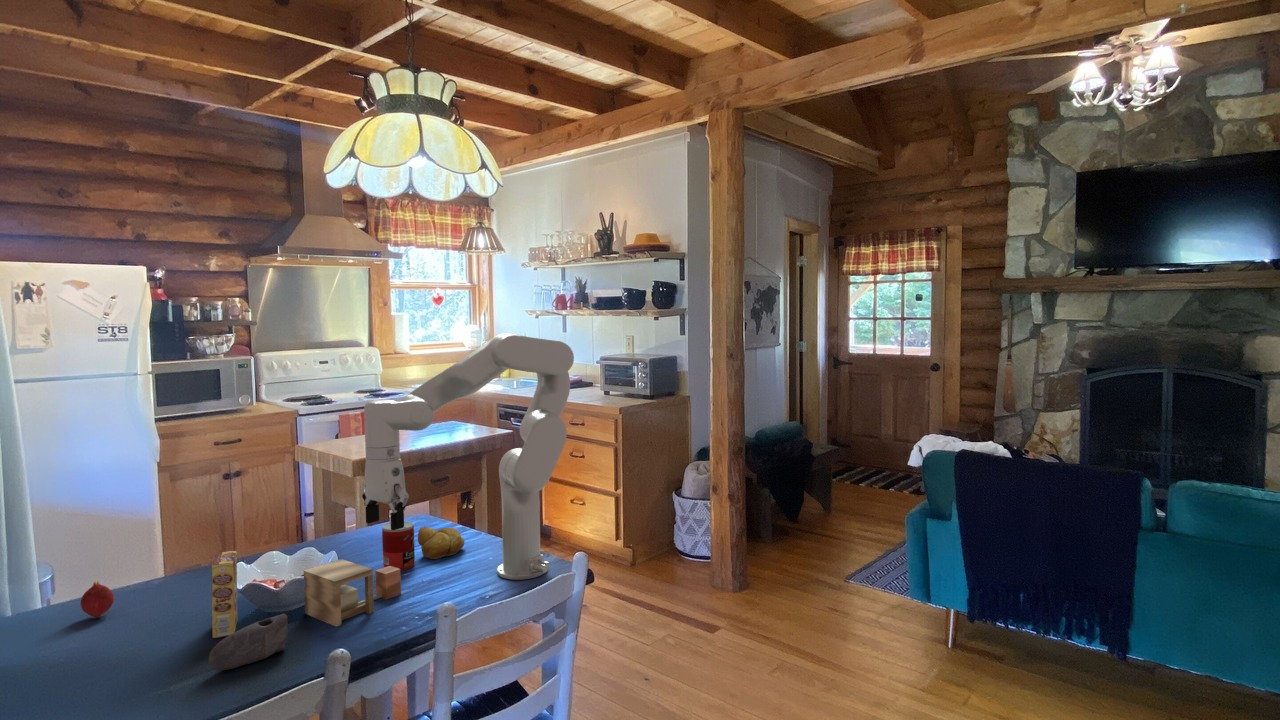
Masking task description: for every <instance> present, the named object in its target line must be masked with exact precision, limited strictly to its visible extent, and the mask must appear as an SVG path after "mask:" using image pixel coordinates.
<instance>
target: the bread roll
mask: <svg viewBox="0 0 1280 720" xmlns="http://www.w3.org/2000/svg"><path fill="white" fill-rule="evenodd" d="M417 543H418V544H419V546H420V548H421V554H422V555H423V556H424V557H425V558H426V559H430V560H431V559H432V560H438V559H440V558H442V557H449V556H454V555H455V554H457V553H458V552H460V551H461V550H462V548H463V547H464V546H465V539H464V537H463V536H462V534H461V533H460V532H459V531H458V530H457V529H456V528H453V527H443V528H439V529H438V530H437V529H435V528H430V527H427V526H424V527H420V528H419V530H418V532H417Z"/></svg>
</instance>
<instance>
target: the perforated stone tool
mask: <svg viewBox="0 0 1280 720" xmlns="http://www.w3.org/2000/svg"><path fill="white" fill-rule="evenodd" d="M288 623H289V616H288V615H287V614H286V613H281V614H277V615H275V616H271V617H268V618H265V619H263V620H258V621H256V622H254V623H251V624H250V625H247V626H245V627H242V628H241V629H238V630H237V631H236V630H235V632H234V633H233V634H231V635H229V636H225V637H223V639H221V640H220V641H219V642H218V643H216V644H215V646H213V648H212V649H211V651H210V652H209V655H208V660H207V661H208V665H209V666H210V667H211V668H212V669H213V670H217V671H225V670H232V669H235V668H236V669H237V668H239V667H242V666H244V665H245V666H247V665H249V664H253V663H255V662H259V661H261V660H265V659H267V658H269V657H270V656H272V655H274V654H275V653H279V652H281V651H283V650H286V645H287V639H288V627H289V625H288Z"/></svg>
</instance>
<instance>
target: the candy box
mask: <svg viewBox="0 0 1280 720" xmlns="http://www.w3.org/2000/svg"><path fill="white" fill-rule="evenodd" d="M237 555H238V553H237V550H229V551H223V552H216V553H215V554H214V558H213V561H212V564H211V611H212V613H211V617H212V619H211V621H212V639H217V638H222V637H223V638H225V637H227V636H229V635H231V634H233V633H234V632H236V629H237V628H236V627H237V623H238V618H239V617H238V616H239V615H238V614H239V611H238V609H239V608H238V564H237V563H238V562H237V561H238V559H237Z"/></svg>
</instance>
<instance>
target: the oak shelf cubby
mask: <svg viewBox="0 0 1280 720" xmlns="http://www.w3.org/2000/svg"><path fill="white" fill-rule="evenodd" d="M373 573H374V572H373V568H370V567H367V566H364V565H361V564H358V563H355V562H352V561H349V560H346V559H342V558H341V559H337V560H334V561H330V562H327V563H324V564H321V565H317V566H314V567H311V568H307V569H304V570H303V581H304V580H305V581H306V582H305V588H304V587H303V589H304V590H303V591H304V594H303V595H304V614H305V615H308V616H310V617H312V618H315V619H317V620H319V621H322V622H325V623H326V624H329V625H331V626H333V627H339V626H342V621H344V620H346V619H349V618H351V617H354V616H357V615H359V614H362V613H364V612H365V613H366V614H367V615H370V614H373V613H374V612H375V605H374V602H375V600H373V596H374V579H373V578H374V574H373ZM363 578H364V595H365V596H364V597H365V599H364V600H365V603H364V604H361V605H359V606H356V607H353V608H351V609H348V610H345V611H343V612H341V598H340V586H341V585H344V584H345V585H347V584H348V583H351V582H354V581H357V580H360V579H363Z"/></svg>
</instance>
